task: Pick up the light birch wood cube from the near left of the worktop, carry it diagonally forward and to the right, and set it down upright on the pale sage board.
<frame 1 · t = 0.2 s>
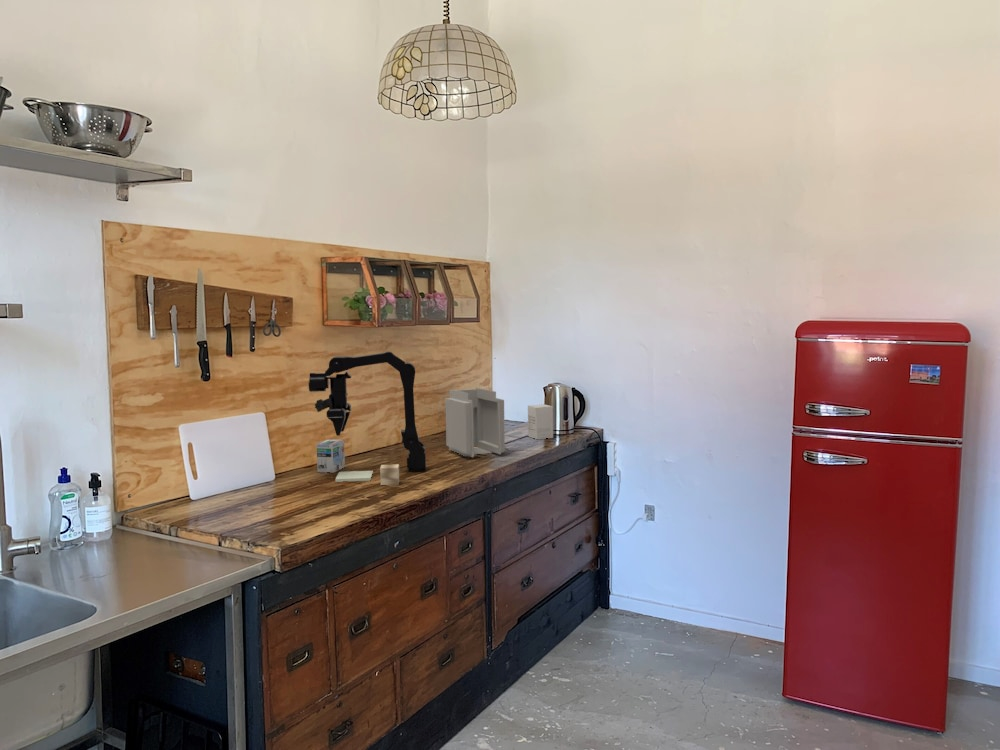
hand: (340, 433, 268), 14 cm above the table, tool pointing down, fingers open, 9 cm apart
birch cube: (390, 483, 251), on the table
light bulb box: (331, 470, 275), on the table
supplement box: (540, 438, 341), on the table
gray open cabinet: (474, 453, 304), on the table
sage board: (354, 477, 261), on the table
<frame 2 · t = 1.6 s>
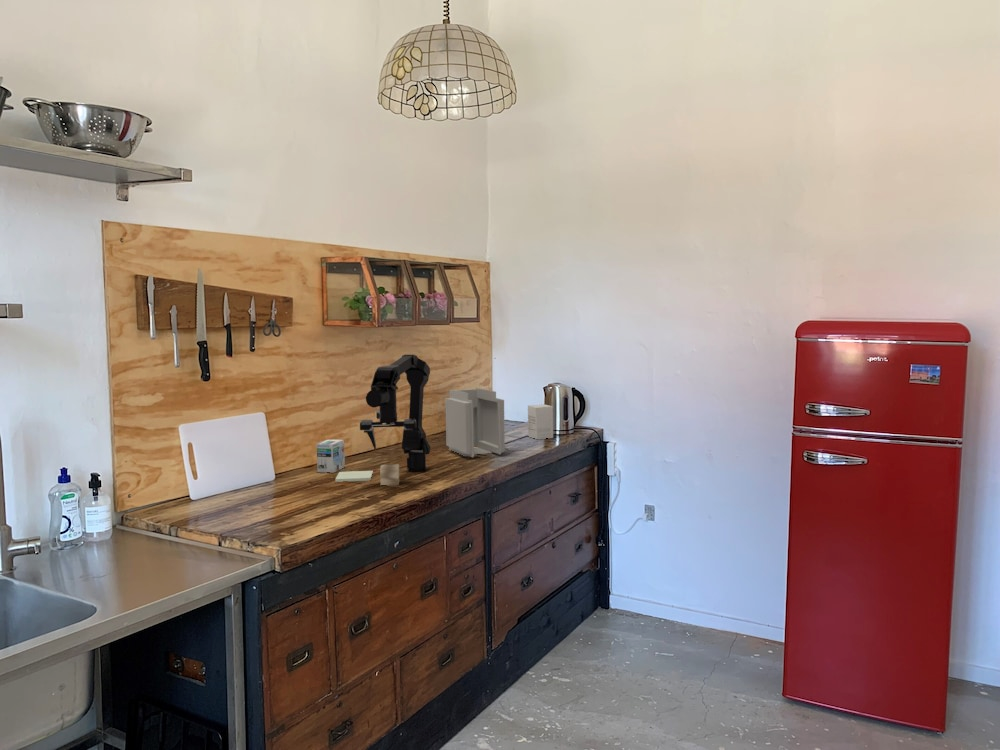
hand: (389, 449, 250), 12 cm above the table, tool pointing down, fingers open, 9 cm apart
nothing on the table moved.
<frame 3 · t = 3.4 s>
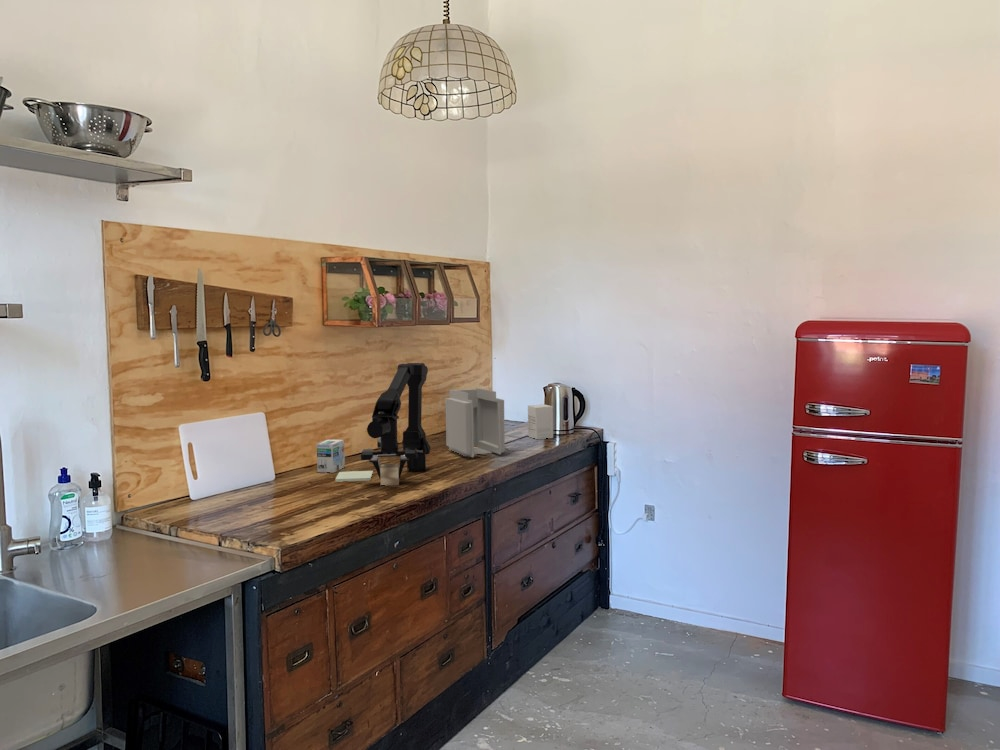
hand: (389, 478, 251), 2 cm above the table, tool pointing down, fingers closed on birch cube, 6 cm apart
birch cube: (390, 483, 251), on the table, touching gripper
everything else where it was.
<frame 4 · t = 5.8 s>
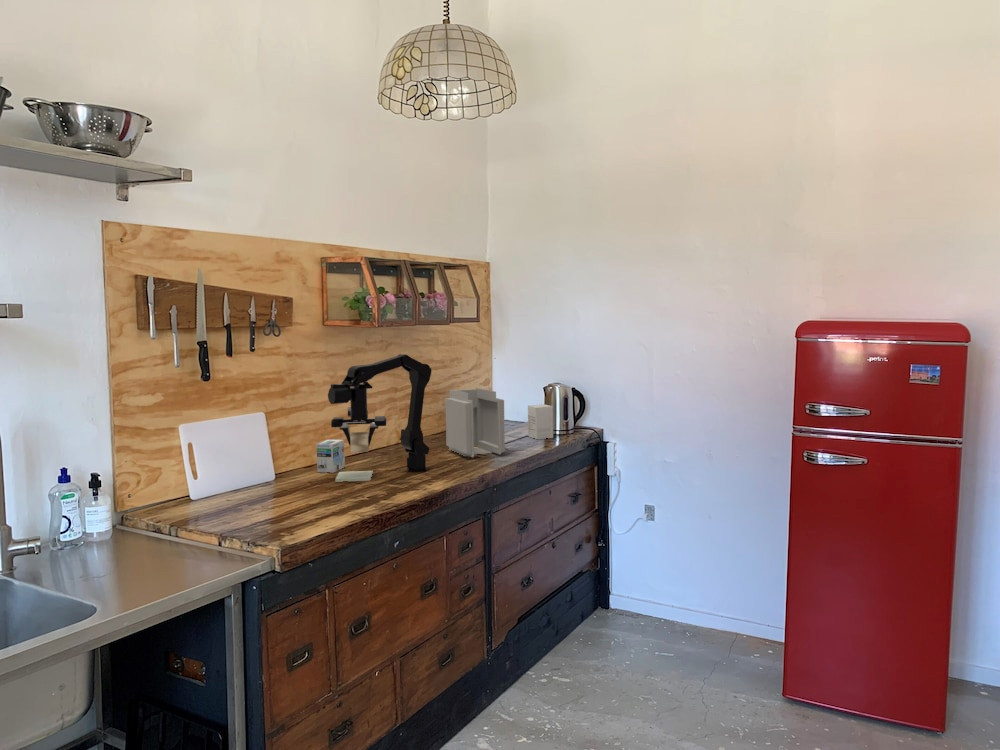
hand: (359, 446, 258), 12 cm above the table, tool pointing down, fingers closed on birch cube, 6 cm apart
birch cube: (359, 450, 258), point 10 cm above the table, touching gripper
everything else where it was.
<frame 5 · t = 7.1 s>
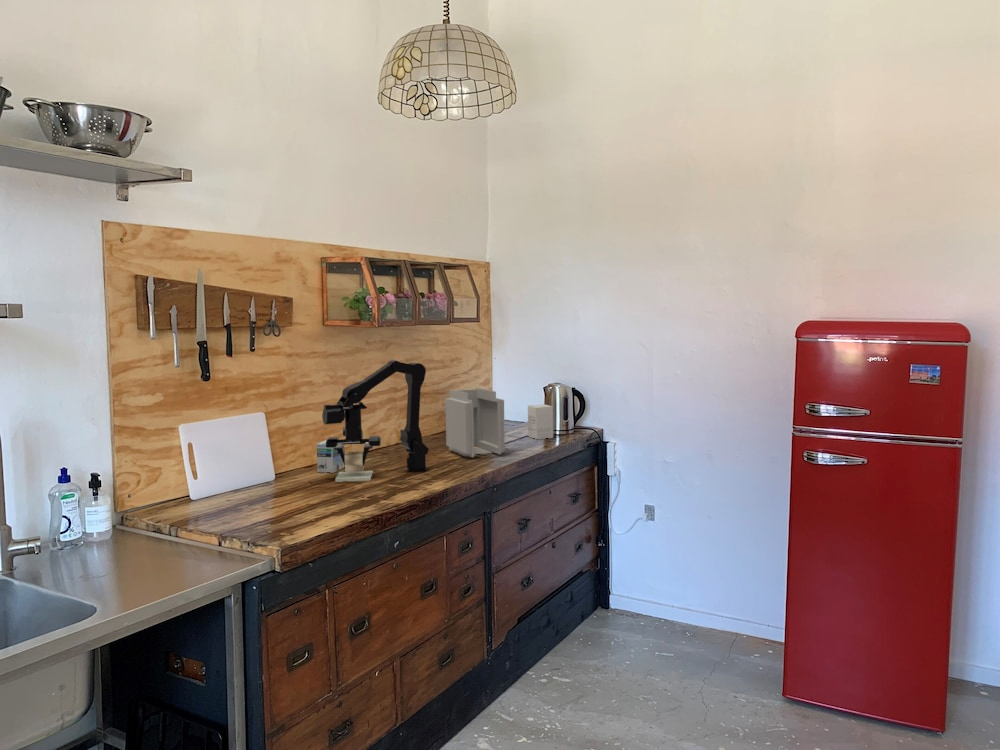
hand: (354, 465, 260), 4 cm above the table, tool pointing down, fingers closed on birch cube, 6 cm apart
birch cube: (354, 470, 261), point 3 cm above the table, touching gripper
everything else where it was.
when the fingers open (3 cm above the table, at t = 8.1 s): birch cube stays where it is, resting on sage board.
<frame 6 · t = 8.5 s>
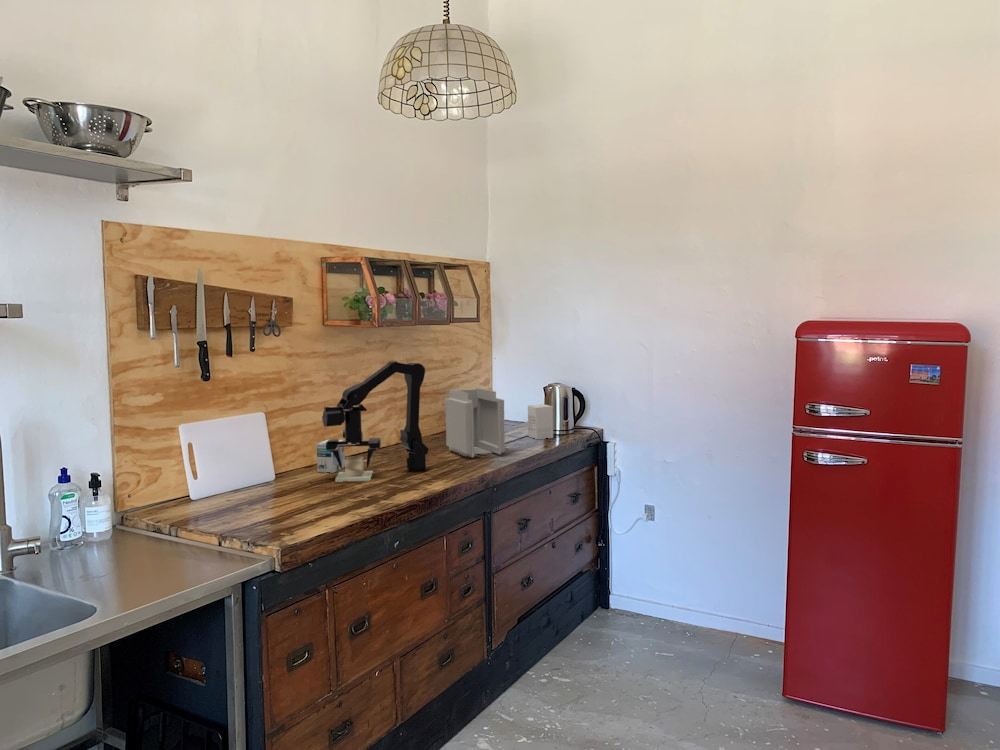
hand: (354, 467, 261), 3 cm above the table, tool pointing down, fingers open, 9 cm apart
birch cube: (354, 474, 261), point 1 cm above the table, touching sage board
everything else where it was.
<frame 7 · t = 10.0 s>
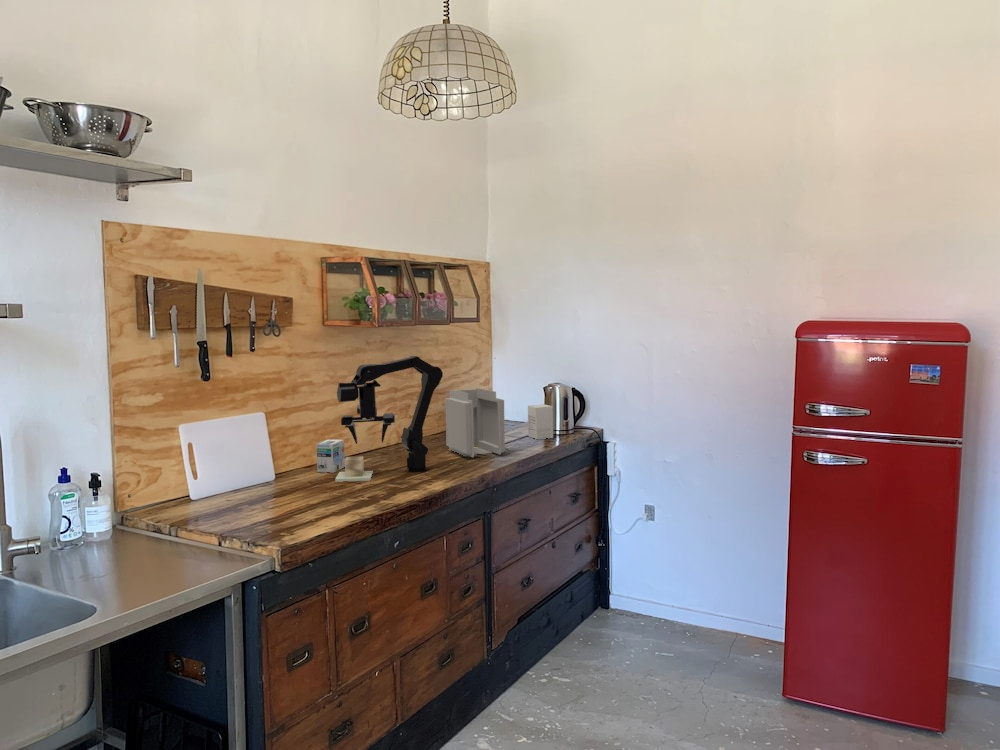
hand: (369, 442, 264), 12 cm above the table, tool pointing down, fingers open, 9 cm apart
nothing on the table moved.
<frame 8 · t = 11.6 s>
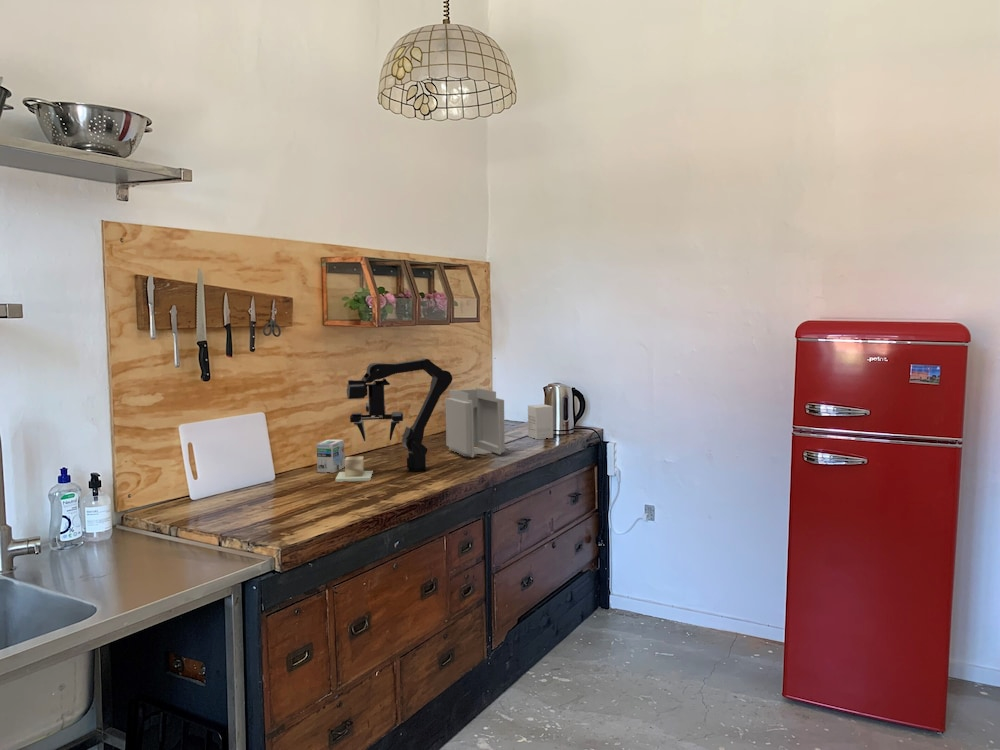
hand: (377, 440, 267), 12 cm above the table, tool pointing down, fingers open, 9 cm apart
nothing on the table moved.
at the end: birch cube 0.1 cm off-centre on the sage board, point 1.0 cm above the sage board's base; birch cube tilted 0°; the gripper is holding nothing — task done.
